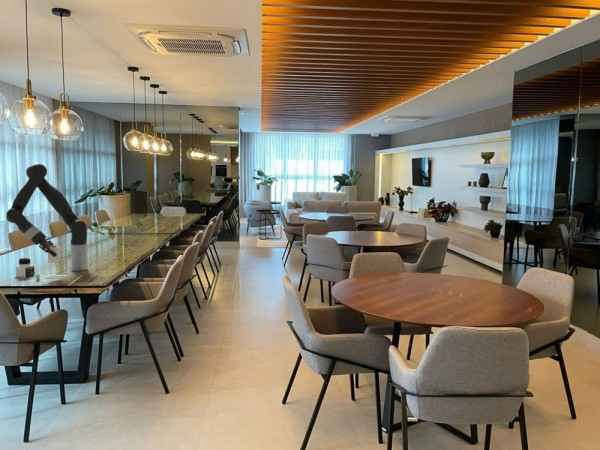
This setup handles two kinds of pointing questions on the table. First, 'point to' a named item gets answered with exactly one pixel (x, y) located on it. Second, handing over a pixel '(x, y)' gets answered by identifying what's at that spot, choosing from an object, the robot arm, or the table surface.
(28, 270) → the medicine bottle
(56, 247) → the white bottle
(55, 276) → the post board
